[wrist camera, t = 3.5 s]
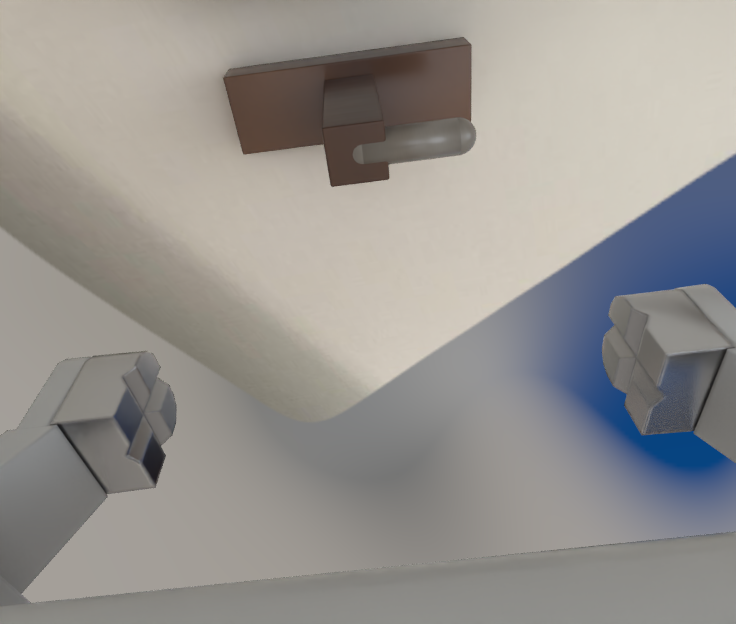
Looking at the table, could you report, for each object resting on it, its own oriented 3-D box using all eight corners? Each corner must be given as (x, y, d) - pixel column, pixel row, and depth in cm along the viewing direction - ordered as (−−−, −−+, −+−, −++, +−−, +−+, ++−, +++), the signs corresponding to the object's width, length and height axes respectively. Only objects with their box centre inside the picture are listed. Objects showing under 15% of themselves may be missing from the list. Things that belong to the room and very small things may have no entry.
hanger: (247, 143, 24) (218, 219, 18) (228, 68, 22) (189, 126, 16) (464, 114, 24) (508, 182, 18) (464, 36, 22) (513, 84, 16)
